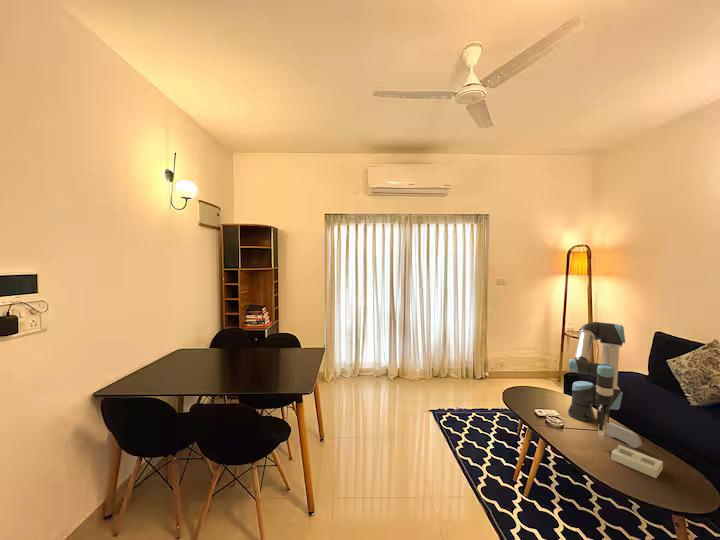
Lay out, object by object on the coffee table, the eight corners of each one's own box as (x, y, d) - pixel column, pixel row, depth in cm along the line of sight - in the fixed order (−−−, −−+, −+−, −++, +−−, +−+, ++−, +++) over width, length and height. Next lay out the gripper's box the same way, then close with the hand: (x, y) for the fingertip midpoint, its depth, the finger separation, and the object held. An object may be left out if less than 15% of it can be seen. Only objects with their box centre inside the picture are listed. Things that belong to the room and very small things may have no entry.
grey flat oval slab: (641, 450, 183) (642, 435, 183) (639, 451, 182) (639, 436, 182) (605, 432, 201) (605, 419, 201) (602, 433, 200) (603, 419, 200)
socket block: (618, 452, 180) (619, 444, 180) (662, 469, 166) (662, 461, 166) (611, 459, 173) (611, 452, 173) (656, 478, 159) (656, 470, 159)
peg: (599, 436, 187) (600, 412, 186) (607, 439, 184) (608, 414, 183) (597, 438, 185) (598, 414, 184) (604, 441, 182) (606, 416, 181)
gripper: (602, 387, 191) (600, 426, 192) (590, 394, 181) (588, 436, 182) (617, 392, 185) (615, 432, 186) (607, 399, 175) (605, 442, 176)
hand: (602, 434), depth 184 cm, fingers closed on peg, 3 cm apart
